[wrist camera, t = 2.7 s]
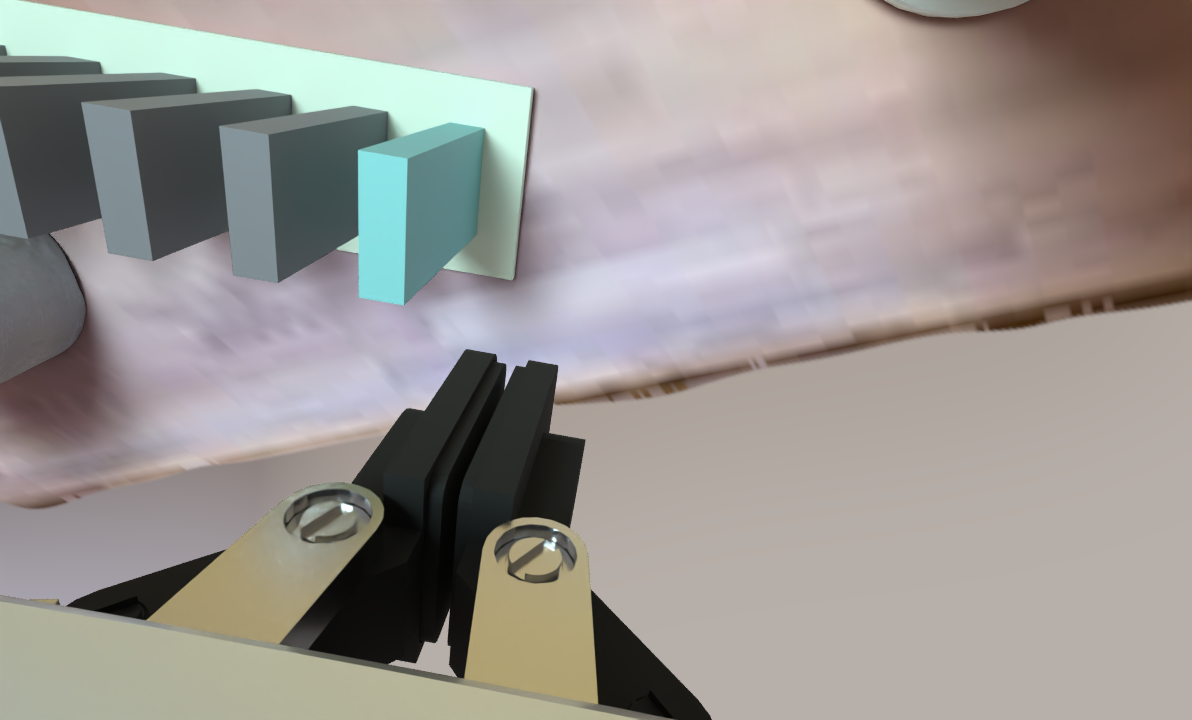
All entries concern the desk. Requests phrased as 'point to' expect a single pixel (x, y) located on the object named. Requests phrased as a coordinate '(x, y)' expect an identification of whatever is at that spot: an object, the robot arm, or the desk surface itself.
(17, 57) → the tile
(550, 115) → the desk surface
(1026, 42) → the desk surface
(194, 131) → the tile
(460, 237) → the tile
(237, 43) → the mat
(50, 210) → the tile
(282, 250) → the tile
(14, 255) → the pillar candle
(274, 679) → the robot arm
